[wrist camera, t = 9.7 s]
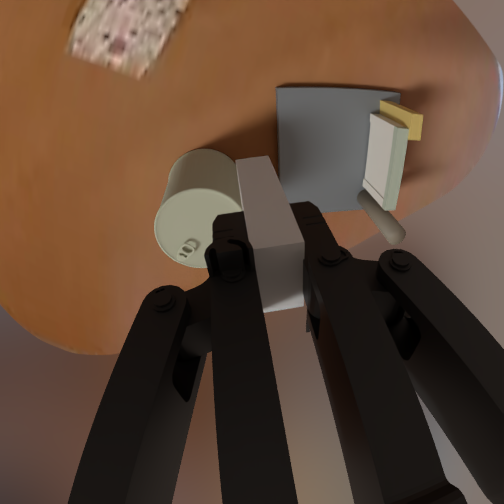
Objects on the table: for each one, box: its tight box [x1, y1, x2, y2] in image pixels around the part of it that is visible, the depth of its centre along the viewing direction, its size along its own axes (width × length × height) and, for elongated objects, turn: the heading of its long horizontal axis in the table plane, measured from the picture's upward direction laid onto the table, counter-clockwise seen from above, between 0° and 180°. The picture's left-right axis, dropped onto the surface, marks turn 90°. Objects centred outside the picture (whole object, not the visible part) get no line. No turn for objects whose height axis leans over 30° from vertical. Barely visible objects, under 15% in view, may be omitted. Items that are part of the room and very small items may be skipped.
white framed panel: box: [362, 113, 409, 211], centre depth 33 cm, size 10×2×7 cm, turn 2°
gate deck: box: [276, 87, 423, 245], centre depth 33 cm, size 17×16×11 cm
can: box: [154, 149, 243, 268], centre depth 34 cm, size 9×9×12 cm
